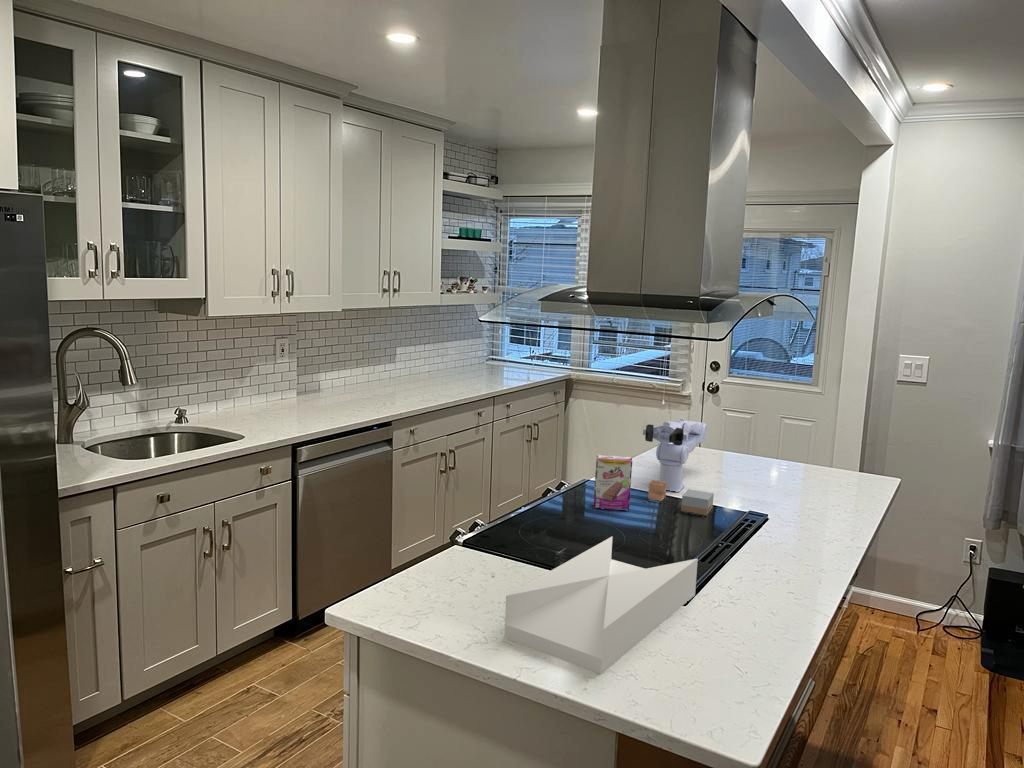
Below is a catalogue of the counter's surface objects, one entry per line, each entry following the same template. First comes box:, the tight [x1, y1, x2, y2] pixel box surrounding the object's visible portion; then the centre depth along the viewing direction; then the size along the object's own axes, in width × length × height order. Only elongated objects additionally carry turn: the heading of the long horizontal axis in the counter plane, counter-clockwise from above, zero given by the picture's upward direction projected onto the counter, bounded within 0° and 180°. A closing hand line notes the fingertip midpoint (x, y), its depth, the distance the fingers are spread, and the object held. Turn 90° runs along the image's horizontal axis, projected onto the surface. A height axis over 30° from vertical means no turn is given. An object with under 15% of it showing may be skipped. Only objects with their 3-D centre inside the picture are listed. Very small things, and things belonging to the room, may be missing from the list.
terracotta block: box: [647, 479, 667, 501], centre depth 252 cm, size 4×4×6 cm
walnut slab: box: [680, 502, 714, 515], centre depth 242 cm, size 8×8×3 cm
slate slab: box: [681, 488, 715, 509], centre depth 242 cm, size 8×8×3 cm
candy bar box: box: [593, 454, 633, 511], centre depth 241 cm, size 11×5×16 cm, turn 84°
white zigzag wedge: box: [504, 536, 699, 675], centre depth 167 cm, size 45×22×10 cm, turn 145°
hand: (658, 436), depth 246 cm, fingers open, 7 cm apart
